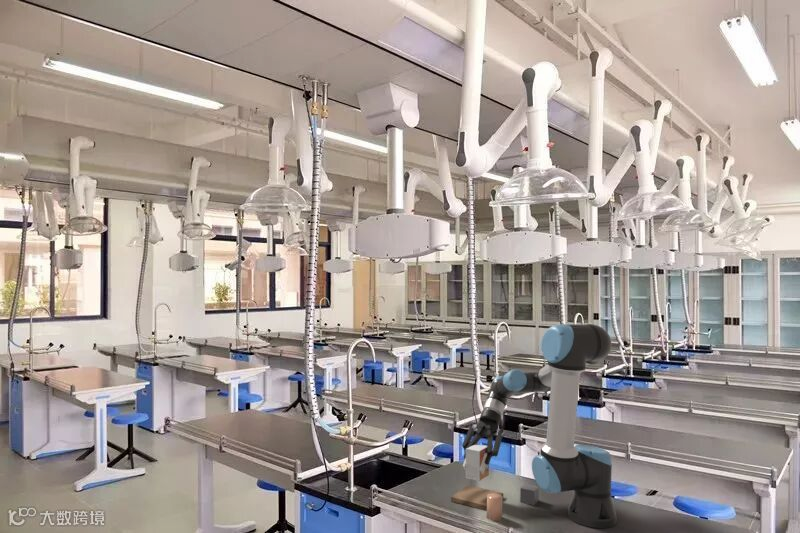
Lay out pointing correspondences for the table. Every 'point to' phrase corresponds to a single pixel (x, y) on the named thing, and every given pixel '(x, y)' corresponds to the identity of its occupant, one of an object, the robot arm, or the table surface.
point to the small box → (475, 462)
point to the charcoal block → (529, 494)
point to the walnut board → (473, 497)
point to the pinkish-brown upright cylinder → (494, 507)
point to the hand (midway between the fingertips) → (472, 469)
